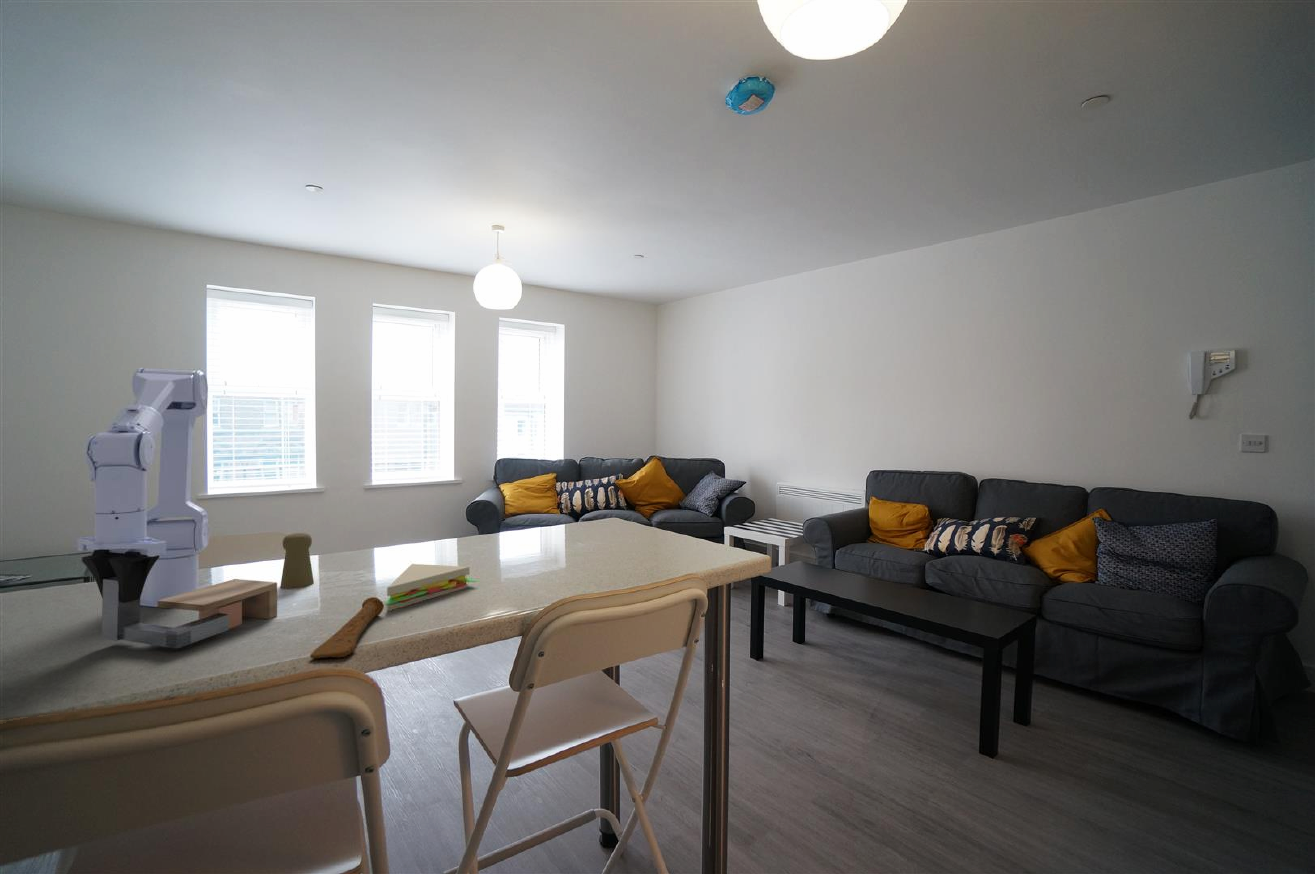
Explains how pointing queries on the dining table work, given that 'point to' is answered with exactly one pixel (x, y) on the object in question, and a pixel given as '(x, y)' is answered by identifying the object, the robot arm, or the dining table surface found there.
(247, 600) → the cubby
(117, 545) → the robot arm
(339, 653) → the primitive tool
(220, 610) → the cube
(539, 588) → the dining table surface
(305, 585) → the cork
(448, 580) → the sandwich
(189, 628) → the grey angled block
